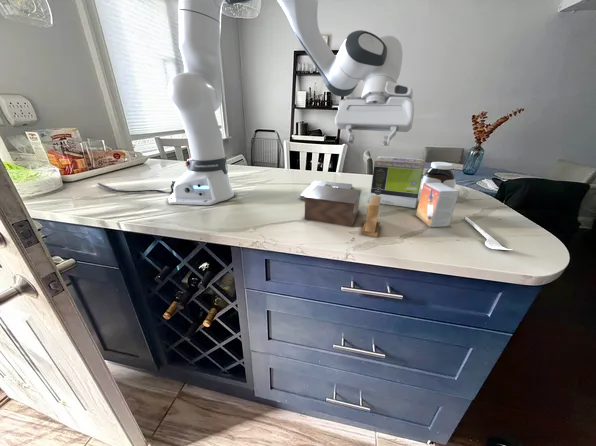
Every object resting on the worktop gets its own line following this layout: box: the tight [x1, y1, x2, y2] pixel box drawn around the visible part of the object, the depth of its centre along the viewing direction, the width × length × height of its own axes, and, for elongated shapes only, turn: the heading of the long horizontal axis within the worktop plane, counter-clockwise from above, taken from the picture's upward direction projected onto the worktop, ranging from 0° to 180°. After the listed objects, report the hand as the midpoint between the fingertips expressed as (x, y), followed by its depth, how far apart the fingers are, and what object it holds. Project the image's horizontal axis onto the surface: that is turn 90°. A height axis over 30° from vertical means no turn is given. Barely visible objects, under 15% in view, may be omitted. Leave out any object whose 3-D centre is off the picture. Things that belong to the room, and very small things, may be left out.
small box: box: [415, 183, 460, 228], centre depth 69 cm, size 8×6×10 cm
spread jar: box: [420, 161, 457, 189], centre depth 92 cm, size 12×11×12 cm
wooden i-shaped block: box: [361, 196, 381, 238], centre depth 64 cm, size 4×7×9 cm, turn 159°
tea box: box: [369, 155, 425, 209], centre depth 83 cm, size 15×10×15 cm, turn 65°
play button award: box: [300, 180, 353, 201], centre depth 94 cm, size 16×2×20 cm
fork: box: [463, 216, 514, 251], centre depth 63 cm, size 3×20×2 cm, turn 170°
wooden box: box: [304, 185, 362, 227], centre depth 74 cm, size 14×12×7 cm
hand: (367, 143), depth 65 cm, fingers open, 8 cm apart
